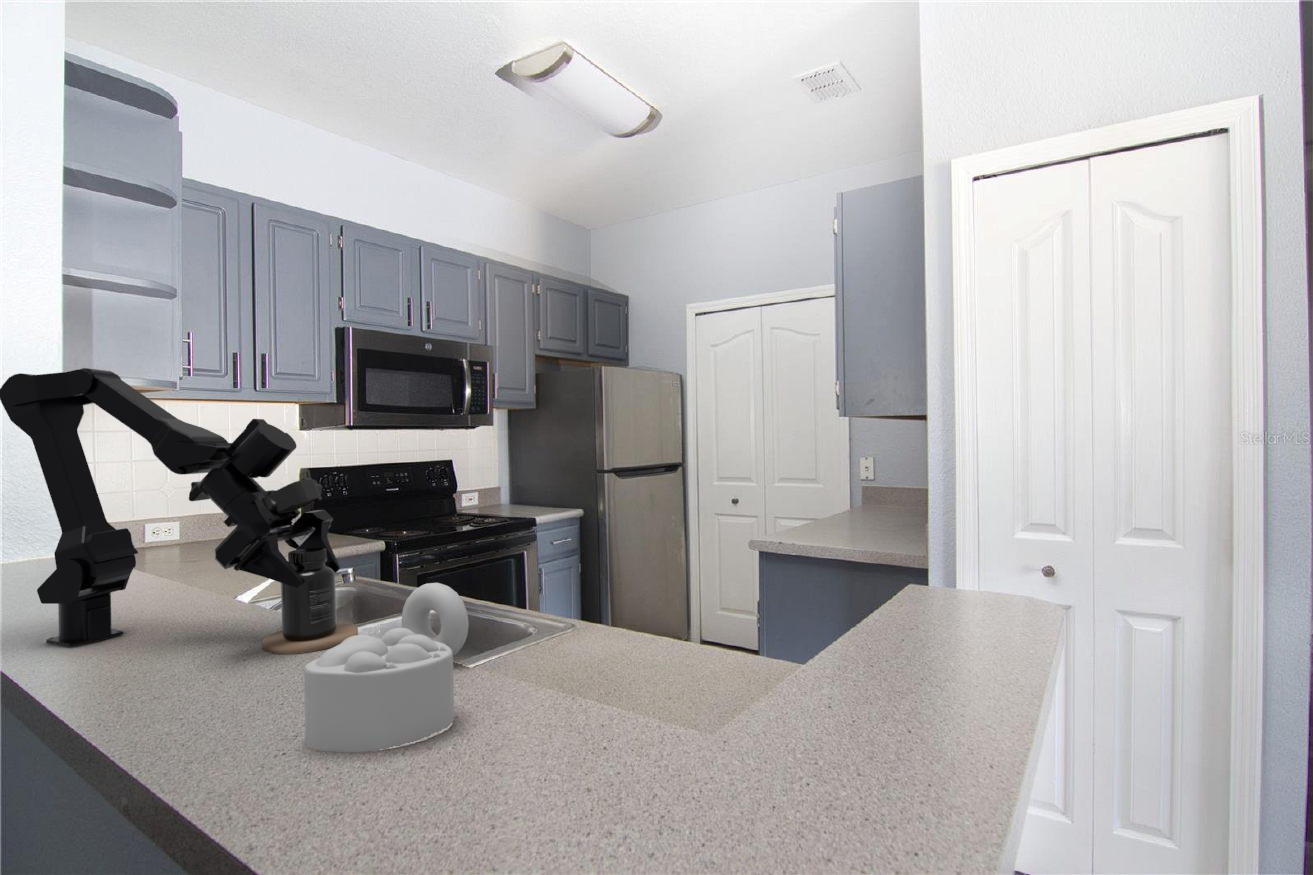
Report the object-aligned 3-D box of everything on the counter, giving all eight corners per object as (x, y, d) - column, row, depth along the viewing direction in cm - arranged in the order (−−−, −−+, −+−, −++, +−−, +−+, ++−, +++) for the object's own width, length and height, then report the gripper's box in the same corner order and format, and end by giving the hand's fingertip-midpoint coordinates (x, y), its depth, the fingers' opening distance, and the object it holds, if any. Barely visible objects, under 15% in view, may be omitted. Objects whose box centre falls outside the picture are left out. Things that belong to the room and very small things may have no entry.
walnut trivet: (241, 648, 88) (241, 642, 88) (317, 624, 99) (317, 619, 99) (304, 658, 83) (304, 652, 83) (376, 632, 94) (376, 626, 94)
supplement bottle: (338, 625, 95) (336, 544, 95) (335, 637, 89) (333, 551, 89) (285, 631, 92) (283, 548, 92) (278, 645, 86) (276, 556, 86)
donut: (475, 662, 81) (474, 583, 81) (456, 671, 78) (454, 589, 78) (416, 652, 85) (415, 577, 85) (395, 660, 82) (394, 582, 82)
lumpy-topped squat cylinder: (348, 705, 68) (347, 624, 68) (468, 704, 68) (467, 623, 68) (290, 752, 58) (289, 657, 58) (432, 752, 58) (430, 656, 58)
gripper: (235, 463, 82) (320, 548, 81) (320, 458, 100) (389, 528, 100) (177, 524, 82) (261, 610, 82) (272, 508, 101) (341, 578, 100)
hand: (319, 577), depth 91 cm, fingers open, 9 cm apart
